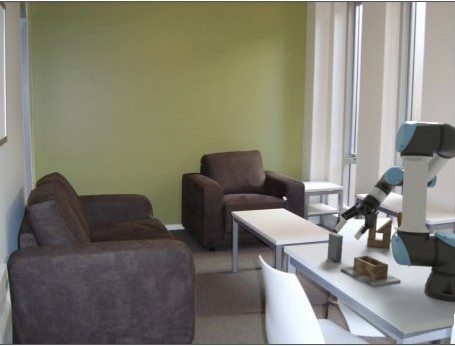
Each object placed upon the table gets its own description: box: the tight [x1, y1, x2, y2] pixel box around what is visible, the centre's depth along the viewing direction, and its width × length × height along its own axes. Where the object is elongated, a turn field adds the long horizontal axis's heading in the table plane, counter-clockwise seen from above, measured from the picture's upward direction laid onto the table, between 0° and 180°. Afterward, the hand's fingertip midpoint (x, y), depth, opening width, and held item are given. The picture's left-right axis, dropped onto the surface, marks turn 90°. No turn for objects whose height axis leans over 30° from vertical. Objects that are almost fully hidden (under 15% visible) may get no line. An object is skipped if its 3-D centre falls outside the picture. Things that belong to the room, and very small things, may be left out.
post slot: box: [340, 255, 402, 288], centre depth 214 cm, size 20×14×6 cm
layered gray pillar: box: [326, 232, 344, 264], centre depth 233 cm, size 6×3×12 cm, turn 27°
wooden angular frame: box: [366, 217, 393, 249], centre depth 257 cm, size 4×11×18 cm, turn 78°
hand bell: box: [390, 211, 402, 243], centre depth 265 cm, size 8×8×16 cm
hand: (345, 234), depth 236 cm, fingers open, 13 cm apart
